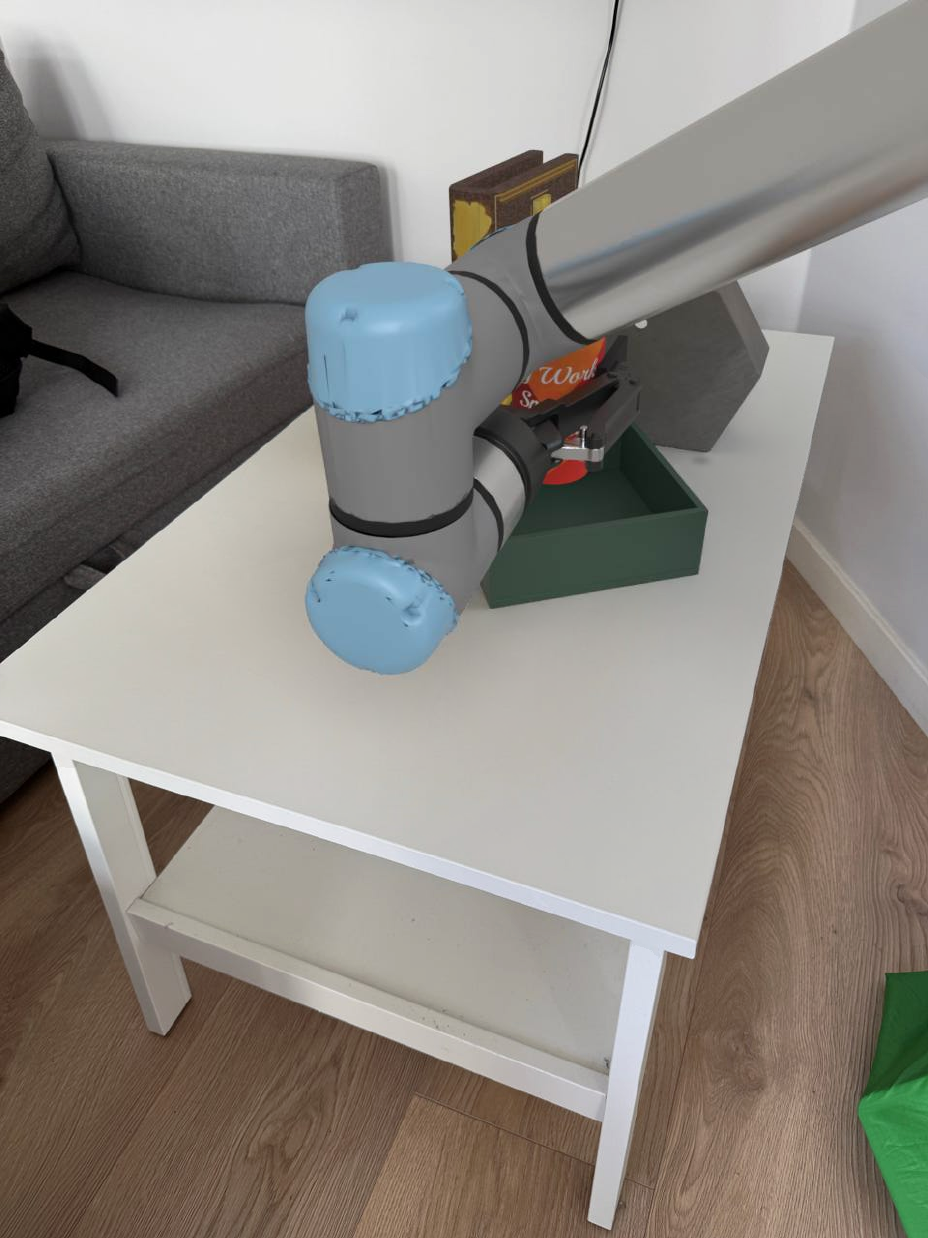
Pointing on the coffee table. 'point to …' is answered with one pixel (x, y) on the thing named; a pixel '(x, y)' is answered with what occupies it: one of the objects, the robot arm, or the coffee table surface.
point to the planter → (695, 367)
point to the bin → (602, 530)
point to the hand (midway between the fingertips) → (574, 346)
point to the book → (507, 195)
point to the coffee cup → (561, 395)
